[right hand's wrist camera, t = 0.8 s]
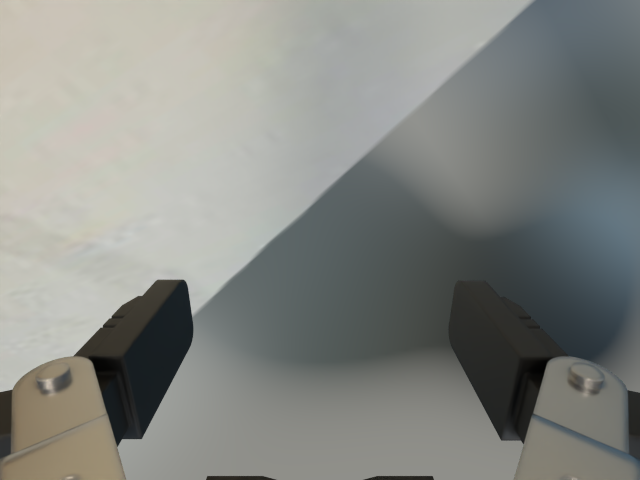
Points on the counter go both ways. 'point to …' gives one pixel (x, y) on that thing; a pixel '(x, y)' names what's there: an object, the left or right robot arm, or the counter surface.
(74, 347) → the counter surface
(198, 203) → the counter surface
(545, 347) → the right robot arm
